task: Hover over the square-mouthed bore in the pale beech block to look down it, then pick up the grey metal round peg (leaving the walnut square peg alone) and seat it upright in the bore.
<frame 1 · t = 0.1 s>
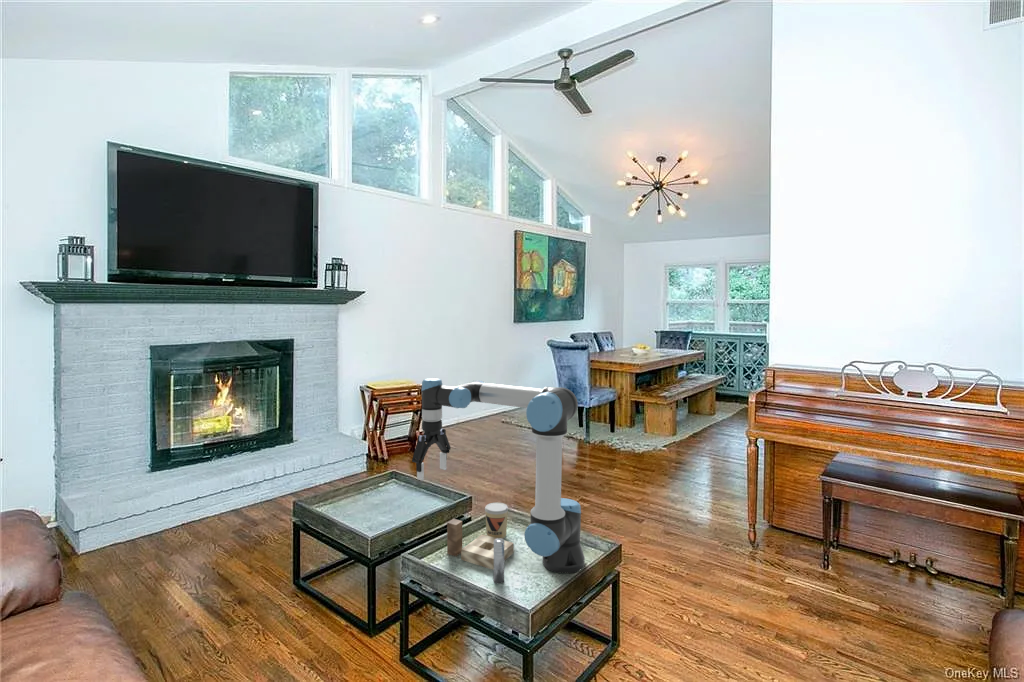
hand: (432, 474, 200), 28 cm above the table, fingers open, 13 cm apart
bore block: (487, 556, 194), on the table
coffee cup: (496, 536, 211), on the table
square peg: (454, 552, 196), on the table
round peg: (498, 580, 177), on the table
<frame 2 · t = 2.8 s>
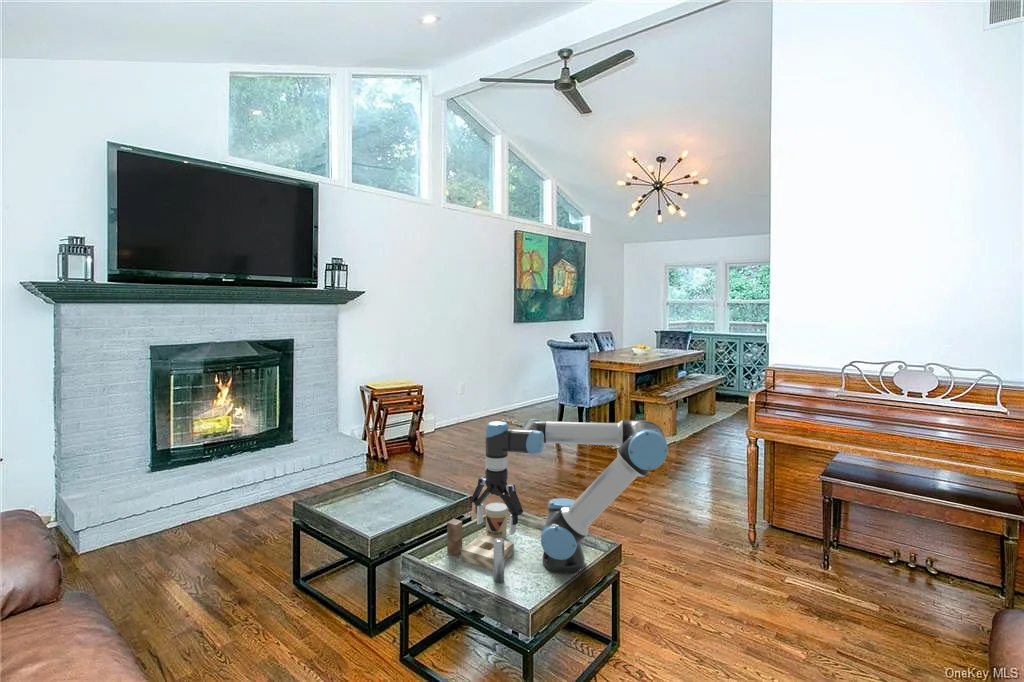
hand: (496, 528, 179), 17 cm above the table, fingers open, 13 cm apart
nothing on the table moved.
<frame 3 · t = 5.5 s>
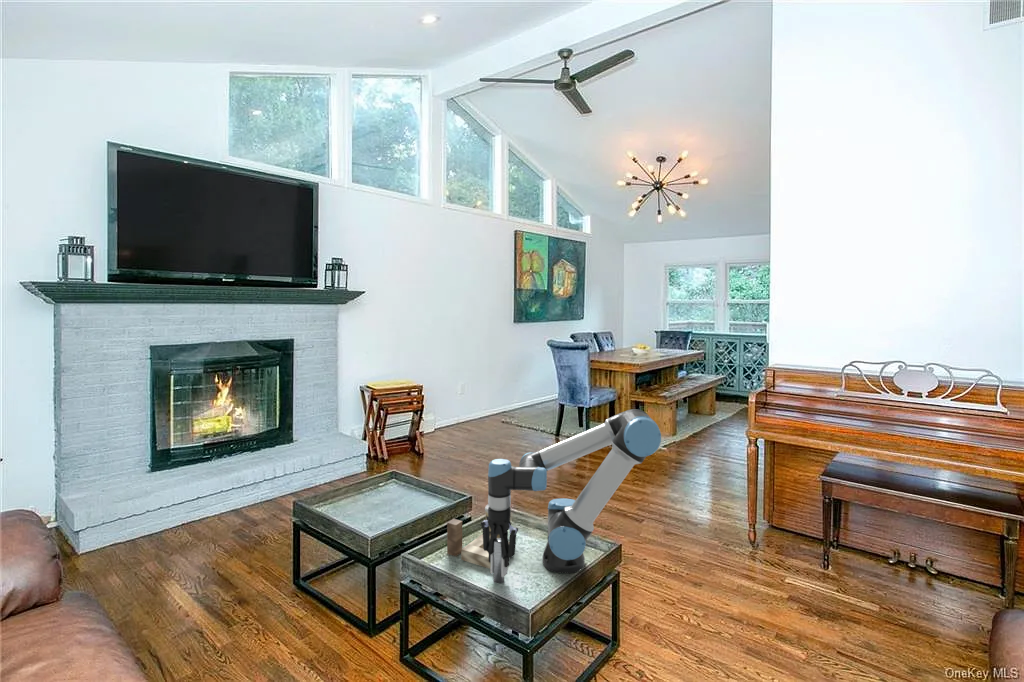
hand: (498, 573, 177), 3 cm above the table, fingers closed on round peg, 3 cm apart
round peg: (498, 580, 177), on the table, touching gripper
everything else where it was.
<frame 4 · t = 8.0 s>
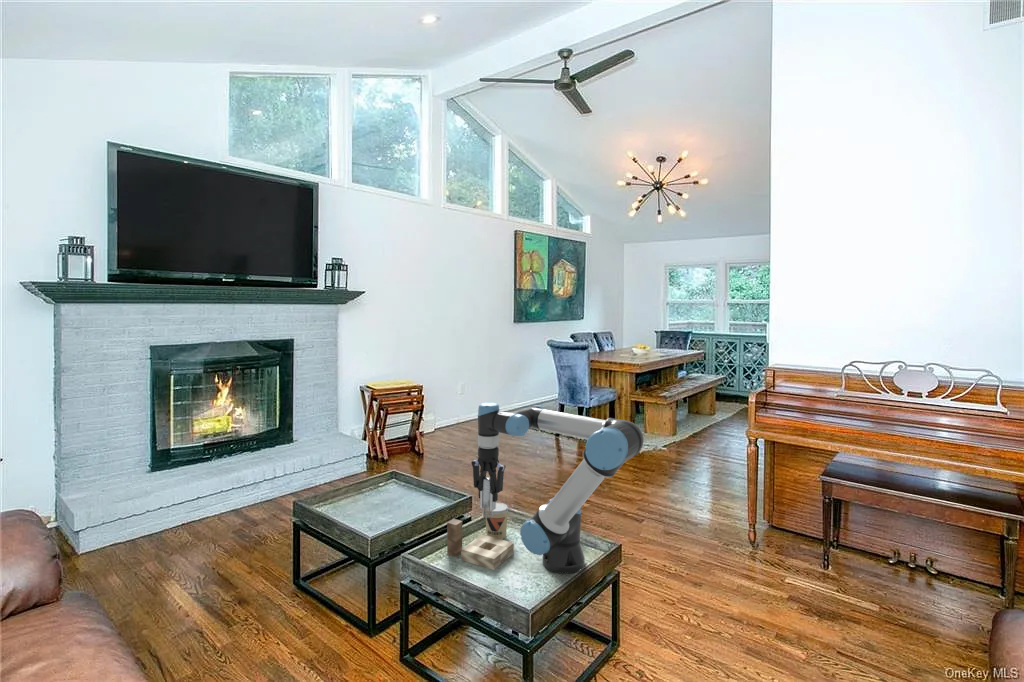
hand: (487, 508, 192), 18 cm above the table, fingers closed on round peg, 3 cm apart
round peg: (487, 515, 192), point 16 cm above the table, touching gripper
everything else where it was.
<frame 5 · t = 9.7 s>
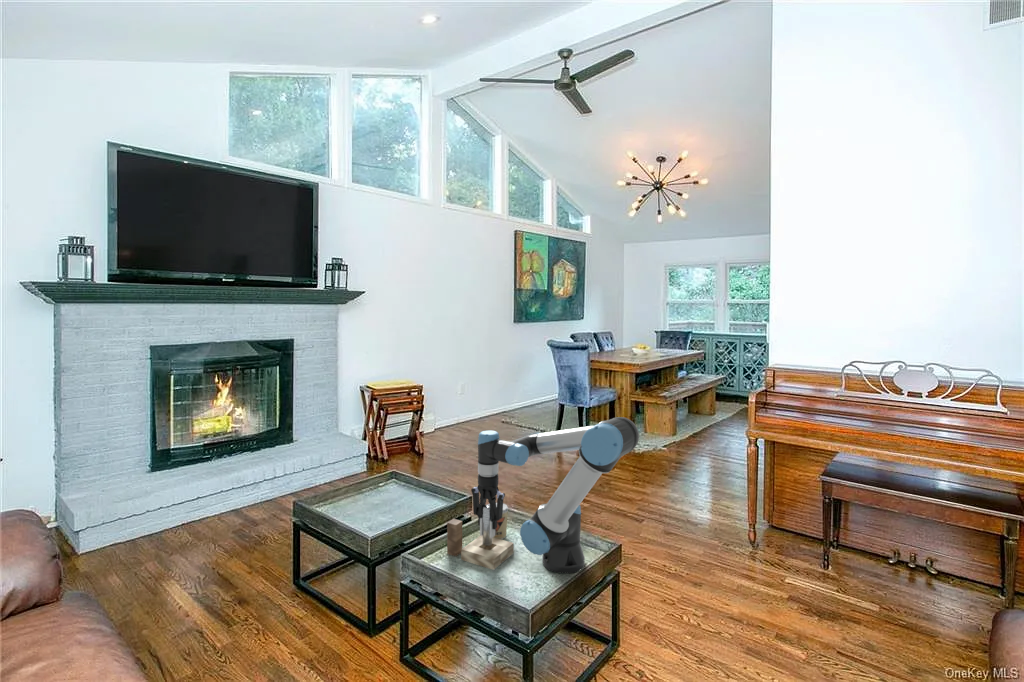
hand: (487, 535, 193), 8 cm above the table, fingers closed on round peg, 3 cm apart
round peg: (487, 543, 193), point 5 cm above the table, touching gripper
everything else where it was.
when the fingers open (6 cm above the table, at t = 10.9 s): round peg drops 2 cm, resting in bore block.
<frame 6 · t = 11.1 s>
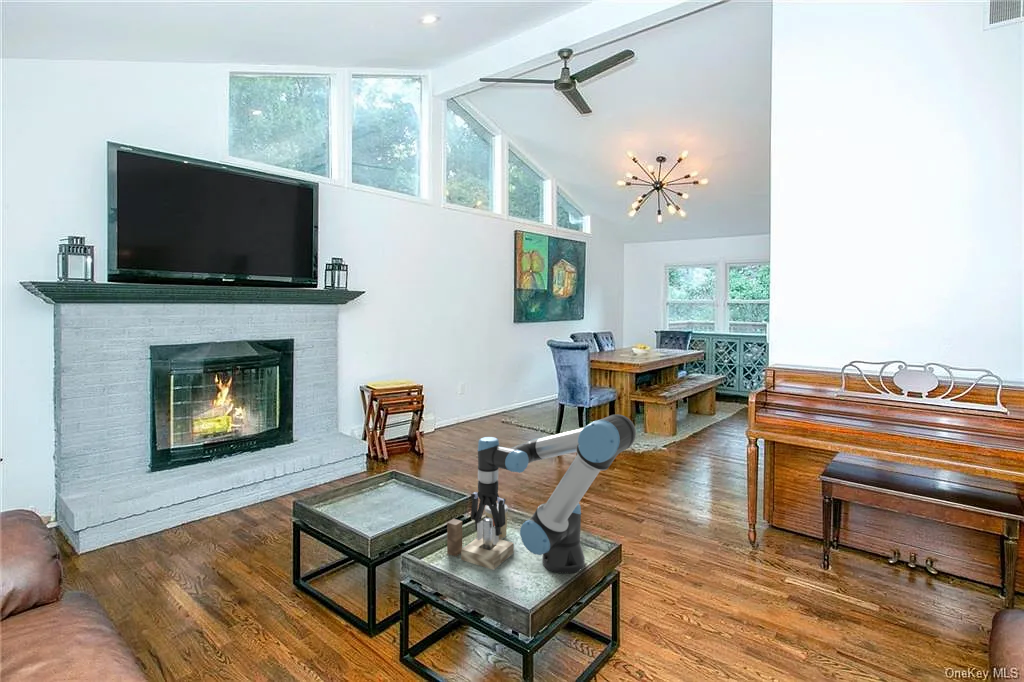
hand: (487, 540, 193), 6 cm above the table, fingers open, 6 cm apart
round peg: (487, 556, 194), resting in bore block
everything else where it was.
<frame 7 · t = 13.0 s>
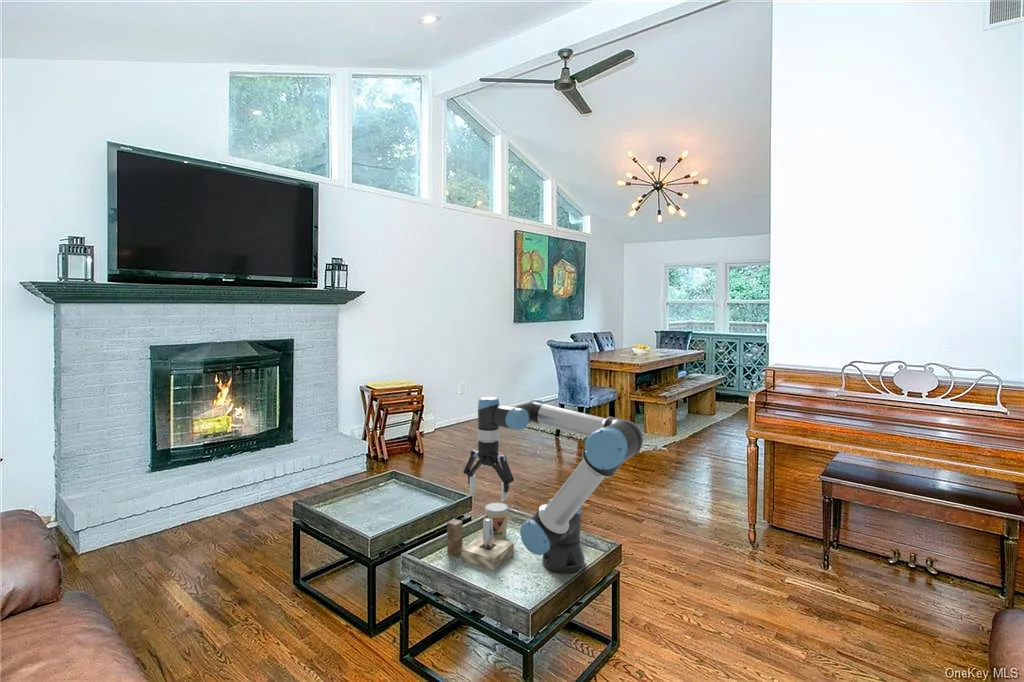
hand: (488, 496, 192), 23 cm above the table, fingers open, 13 cm apart
nothing on the table moved.
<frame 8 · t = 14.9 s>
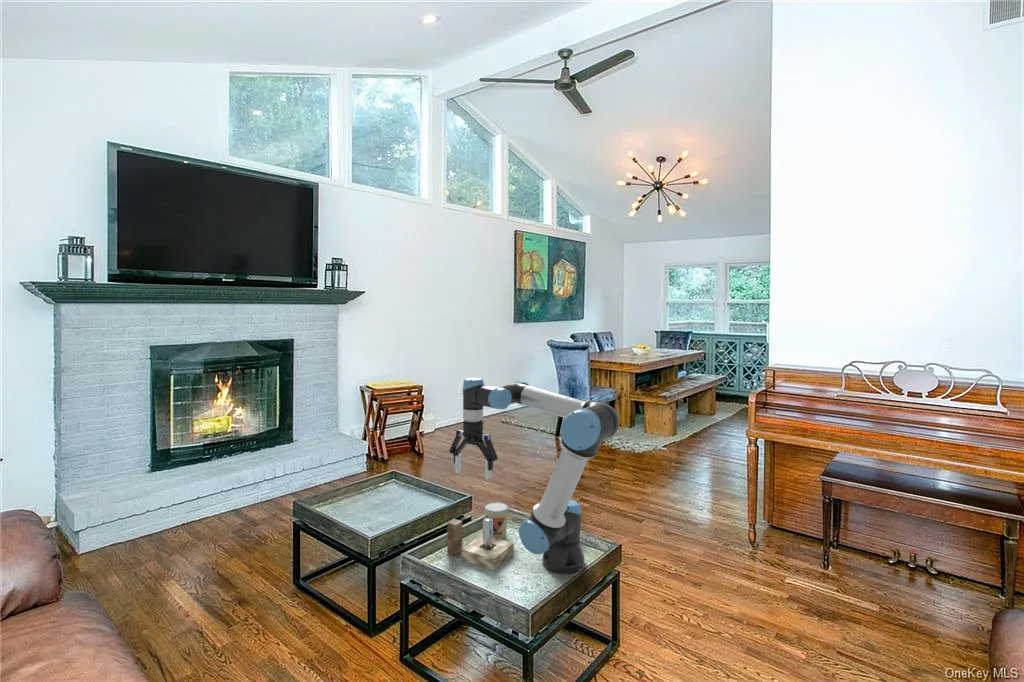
hand: (472, 475, 197), 29 cm above the table, fingers open, 13 cm apart
nothing on the table moved.
at the end: round peg 0.1 cm off-centre on the bore block, point 0.0 cm above the bore block's base; round peg tilted 0°; the gripper is holding nothing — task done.
